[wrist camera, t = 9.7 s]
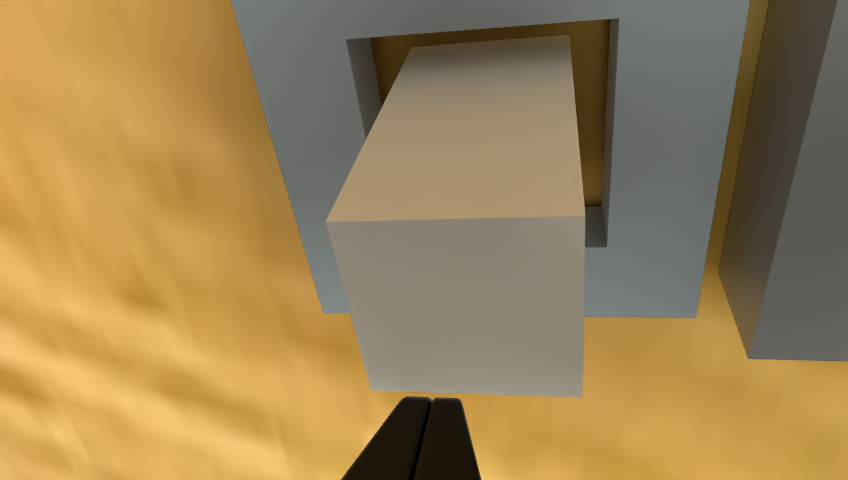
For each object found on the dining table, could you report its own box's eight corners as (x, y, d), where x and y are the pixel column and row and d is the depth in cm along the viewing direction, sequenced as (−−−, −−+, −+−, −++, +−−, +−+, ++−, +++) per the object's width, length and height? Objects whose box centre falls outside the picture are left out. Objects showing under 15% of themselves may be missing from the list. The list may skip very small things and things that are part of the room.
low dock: (745, -147, 13) (773, -135, 11) (683, 272, 19) (695, 318, 17) (246, -85, 15) (210, -69, 13) (339, 272, 21) (323, 313, 20)
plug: (569, 34, 15) (585, 215, 9) (569, 174, 18) (582, 397, 11) (411, 47, 16) (325, 221, 10) (430, 180, 19) (371, 390, 12)
